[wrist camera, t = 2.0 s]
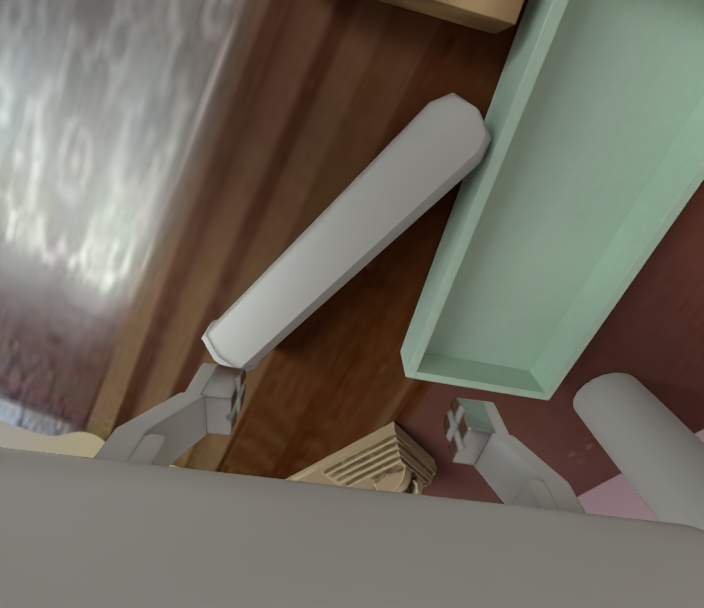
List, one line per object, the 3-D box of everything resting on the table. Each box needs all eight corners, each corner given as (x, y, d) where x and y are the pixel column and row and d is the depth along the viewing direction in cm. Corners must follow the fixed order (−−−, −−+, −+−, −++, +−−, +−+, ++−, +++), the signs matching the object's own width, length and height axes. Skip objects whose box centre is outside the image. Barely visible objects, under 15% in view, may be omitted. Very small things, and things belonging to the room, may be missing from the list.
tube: (453, 57, 18) (189, 335, 26) (517, 136, 18) (237, 385, 27) (447, 89, 23) (227, 314, 31) (498, 150, 23) (267, 356, 32)
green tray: (399, 351, 33) (405, 377, 30) (557, -82, 18) (600, -121, 15) (530, 373, 34) (548, 400, 31) (771, -9, 20) (850, -30, 17)
